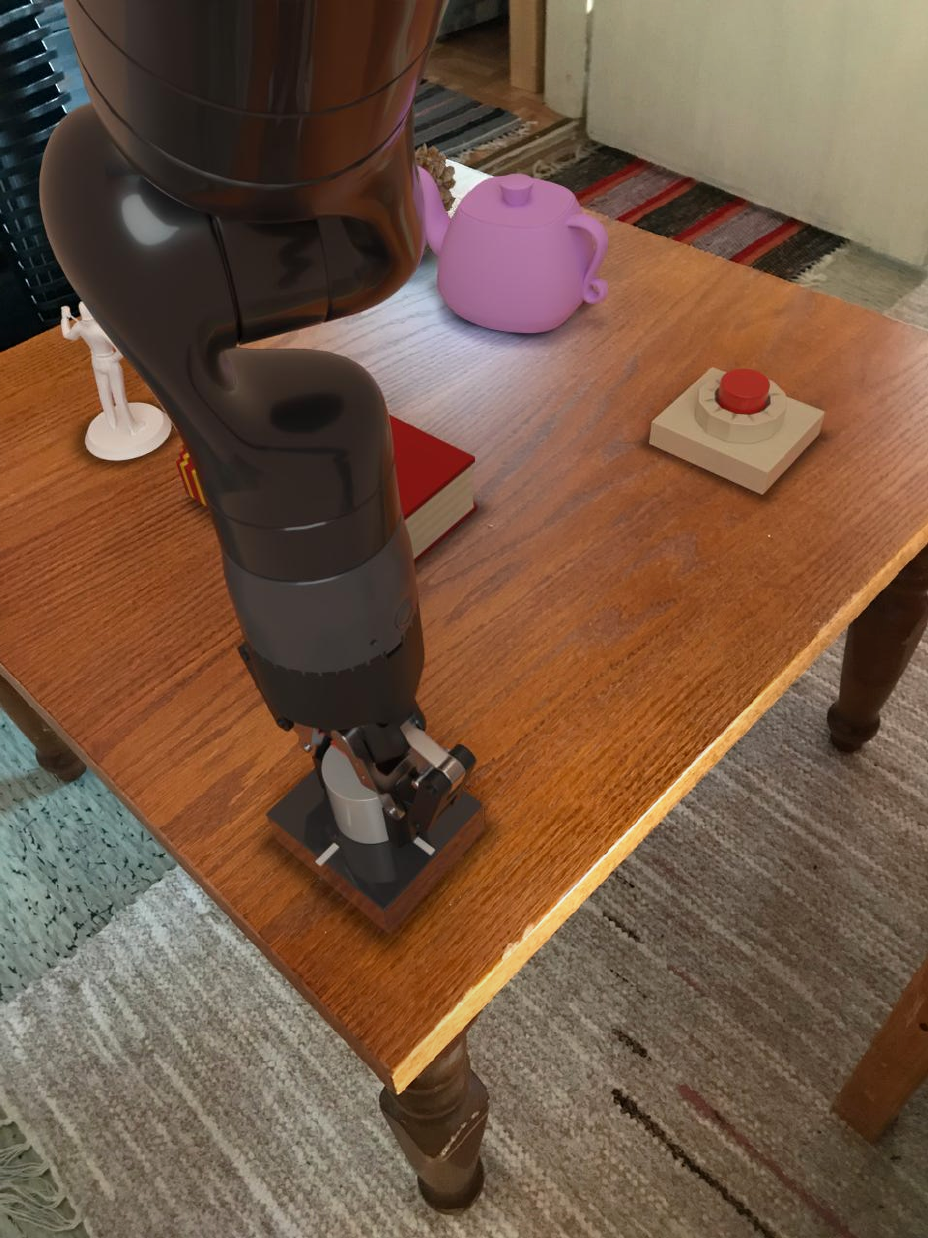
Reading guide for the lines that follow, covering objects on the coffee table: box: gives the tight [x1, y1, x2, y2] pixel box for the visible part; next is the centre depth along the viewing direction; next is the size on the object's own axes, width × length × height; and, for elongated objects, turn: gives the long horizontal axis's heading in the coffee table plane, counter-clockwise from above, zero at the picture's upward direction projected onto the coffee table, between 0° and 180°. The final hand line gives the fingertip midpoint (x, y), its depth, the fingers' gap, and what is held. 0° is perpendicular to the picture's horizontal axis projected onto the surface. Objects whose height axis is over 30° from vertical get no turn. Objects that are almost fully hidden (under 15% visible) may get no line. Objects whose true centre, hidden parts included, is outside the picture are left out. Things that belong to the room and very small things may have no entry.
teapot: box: [417, 165, 610, 334], centre depth 88 cm, size 20×13×12 cm, turn 63°
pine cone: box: [415, 141, 457, 255], centre depth 93 cm, size 22×10×10 cm, turn 152°
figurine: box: [60, 301, 173, 461], centre depth 77 cm, size 7×7×12 cm
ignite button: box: [718, 368, 770, 415], centre depth 74 cm, size 4×4×2 cm
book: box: [175, 413, 478, 565], centre depth 73 cm, size 18×13×5 cm
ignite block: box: [648, 366, 826, 496], centre depth 76 cm, size 10×9×4 cm
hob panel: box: [265, 767, 486, 935], centre depth 55 cm, size 9×9×3 cm
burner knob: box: [322, 740, 407, 844], centre depth 52 cm, size 4×4×5 cm
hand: (373, 806), depth 54 cm, fingers closed on burner knob, 4 cm apart
